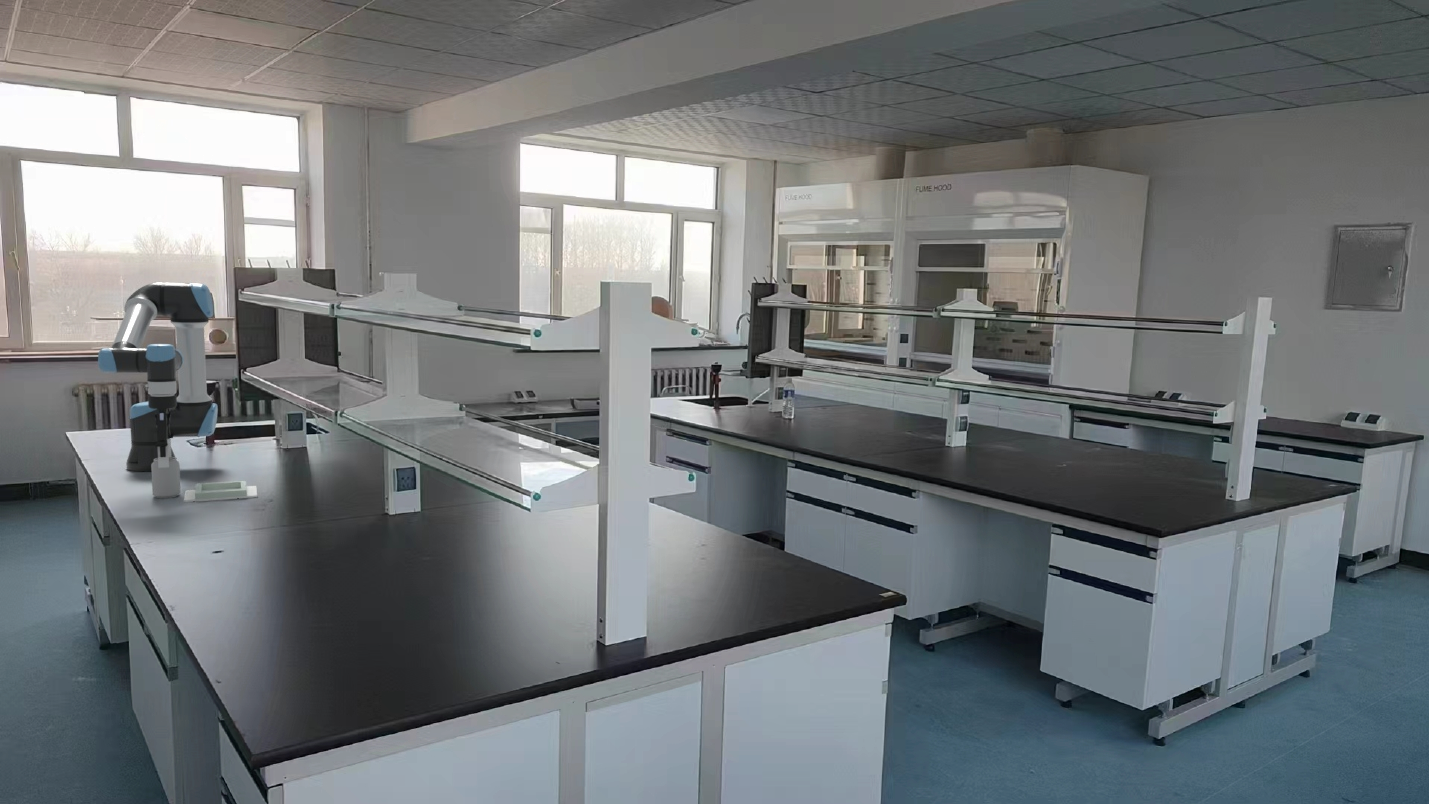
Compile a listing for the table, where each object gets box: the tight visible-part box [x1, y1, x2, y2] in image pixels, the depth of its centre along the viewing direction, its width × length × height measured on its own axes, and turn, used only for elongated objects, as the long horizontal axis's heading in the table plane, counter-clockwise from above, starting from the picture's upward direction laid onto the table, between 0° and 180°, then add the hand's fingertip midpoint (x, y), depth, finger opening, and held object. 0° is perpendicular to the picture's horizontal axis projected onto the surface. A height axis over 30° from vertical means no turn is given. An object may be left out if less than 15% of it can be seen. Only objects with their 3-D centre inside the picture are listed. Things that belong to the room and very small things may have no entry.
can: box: [151, 456, 181, 499], centre depth 288 cm, size 8×8×12 cm
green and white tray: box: [183, 480, 258, 503], centre depth 293 cm, size 14×20×2 cm
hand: (165, 463), depth 287 cm, fingers open, 13 cm apart
